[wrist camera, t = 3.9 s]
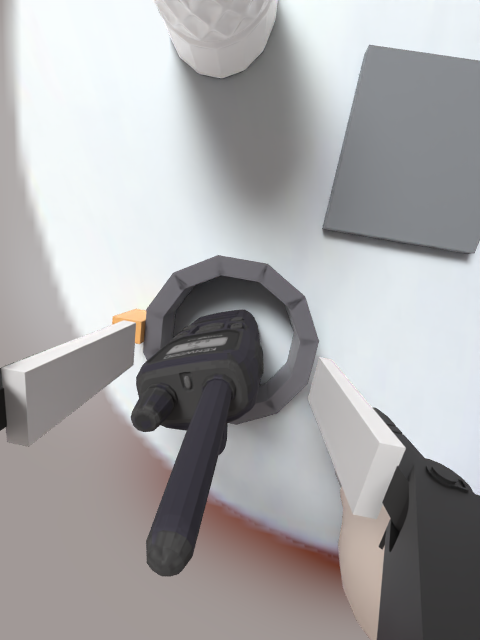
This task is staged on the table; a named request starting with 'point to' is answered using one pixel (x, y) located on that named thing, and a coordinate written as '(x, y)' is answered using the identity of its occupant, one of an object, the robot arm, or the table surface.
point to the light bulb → (362, 563)
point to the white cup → (218, 32)
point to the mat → (411, 152)
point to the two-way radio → (195, 419)
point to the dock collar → (161, 312)
